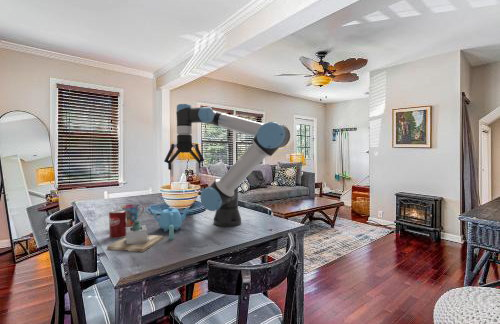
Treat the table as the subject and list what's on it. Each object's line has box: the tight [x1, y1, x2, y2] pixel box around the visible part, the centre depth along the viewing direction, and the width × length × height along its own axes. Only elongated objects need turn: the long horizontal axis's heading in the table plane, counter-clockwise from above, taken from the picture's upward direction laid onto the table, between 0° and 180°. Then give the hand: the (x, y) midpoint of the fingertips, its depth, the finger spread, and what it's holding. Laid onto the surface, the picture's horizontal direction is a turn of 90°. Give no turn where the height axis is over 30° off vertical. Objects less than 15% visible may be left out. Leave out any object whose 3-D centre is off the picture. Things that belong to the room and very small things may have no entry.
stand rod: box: [168, 225, 175, 241], centre depth 121 cm, size 2×2×6 cm
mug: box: [121, 203, 145, 227], centre depth 143 cm, size 12×9×11 cm
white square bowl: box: [125, 224, 148, 244], centre depth 115 cm, size 8×8×5 cm
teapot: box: [153, 206, 190, 232], centre depth 137 cm, size 13×14×11 cm
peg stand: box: [107, 219, 164, 253], centre depth 115 cm, size 16×16×10 cm
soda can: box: [108, 208, 127, 240], centre depth 125 cm, size 7×7×12 cm
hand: (184, 175), depth 140 cm, fingers open, 13 cm apart
